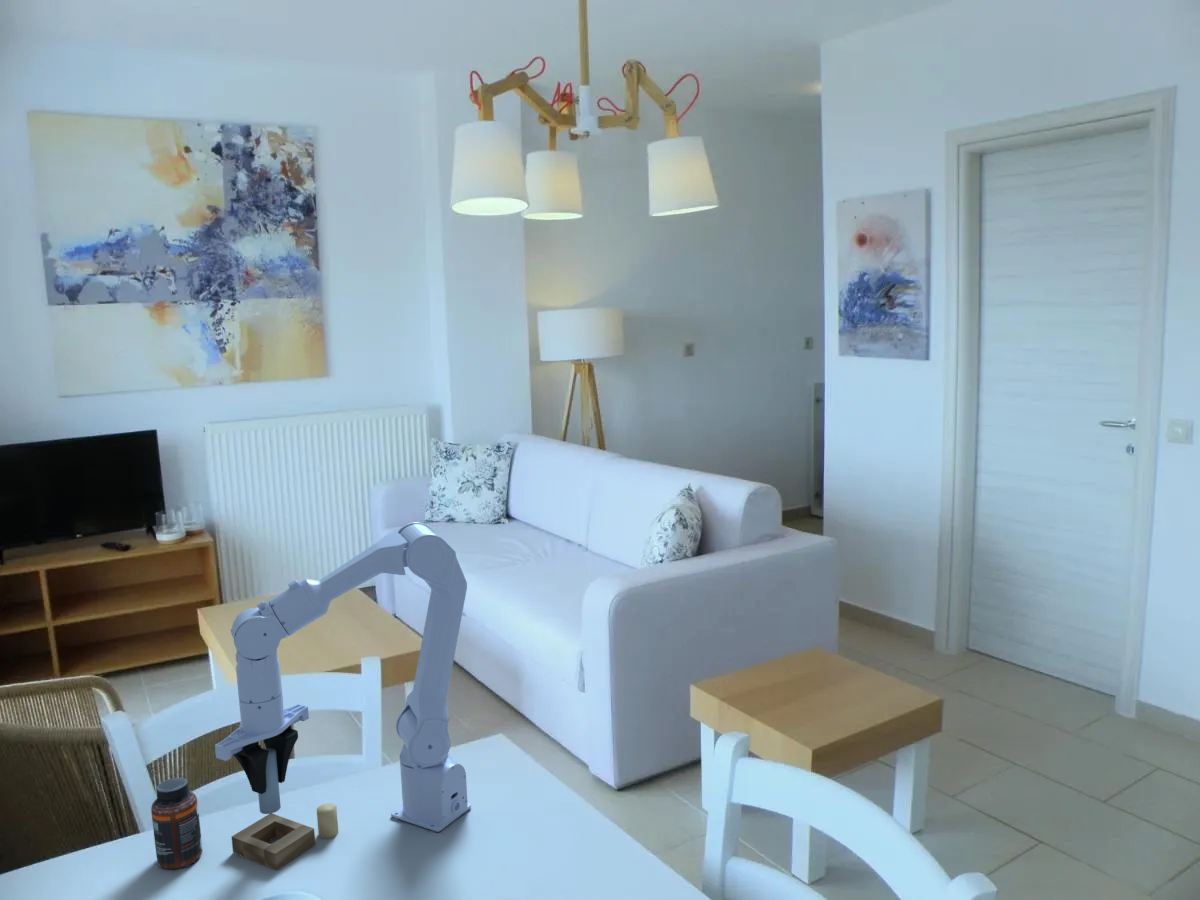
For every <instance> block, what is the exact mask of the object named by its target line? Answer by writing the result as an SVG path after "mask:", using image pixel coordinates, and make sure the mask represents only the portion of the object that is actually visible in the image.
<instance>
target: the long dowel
mask: <svg viewBox="0 0 1200 900" xmlns="http://www.w3.org/2000/svg"><path fill="white" fill-rule="evenodd" d="M264 749H266V750H268V751H269V753H268V757H267V763H266V792H265V793H263V794H259V793H257V794H258V796H257V797H258V804H259V805H258V806H259V807H258V808H259V812H260V814H263V815H268V814H271V813H272V814H274V813H277V812H278V811H279V810H281V795H280V784H279V782H278V770H277V759H276V750H275V749H273V748H266V747H265V748H264Z"/></svg>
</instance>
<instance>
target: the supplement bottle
mask: <svg viewBox="0 0 1200 900" xmlns="http://www.w3.org/2000/svg"><path fill="white" fill-rule="evenodd" d="M189 789H190V788H189V783H188V780H187V779H186V778H184V777H172V778H170V779H166V780H164V781H162V782H160V783H159V784H158V785H157V786H156V797H157V798H156V799H155V800H154V801H153V803H152V804H151V807H150V808H151V812H150V813H151V820H152V830H153V836H154V837H153V838H154V845H155V846H154V847H155V853H156V854H155V855H156V859H157V860H156V861H157V862H156V863H157V864H158V866H159V867H161V868H162V869H165V870H166V869H167V870H169V869H170V870H174V869H180V868H181V869H182V868H184V867H187V866H190V865H191V864H193V863H194V862H196V861H197V860H198V859H199V858H200V857H201V856H202V855H203V840H202V831H201V829H202V828H201V824H200V823H201V822H200V821H201V820H200V813H199V806H198V797H197V795H196V794H195V793H194V792H192V791H191V790H189Z"/></svg>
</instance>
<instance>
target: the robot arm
mask: <svg viewBox="0 0 1200 900" xmlns="http://www.w3.org/2000/svg"><path fill="white" fill-rule="evenodd" d="M405 568H408V569H409V570H410V571H411V573H412V574H414V575H415V576H416V577H418V578H420V579H422V580H424V582H425V584H427V585H428V587H429V588H430V595H429V601H428V606H427V611H426V615H425V616H426V618H425V622H424V628H423V633H422V638H421V639H422V640H421V644H420V648H419V649H420V650H419V655H418V661H417V666H416V671H415V677H414V682H413V687H412V690H411V692H410V693H408V695H407V696H406V700H405V701H406V702H405V705H404V707H403V709H402V710H401V712H400V713H399V715H398V716H397V718H396V721H395V722H396V723H395V730H396V734H397V735H398V737H399V738H400V739H401V741H402V742H403V746H402V749H401V751H400V754H399V769H400V770H399V771H400V784H401V795H402V796H401V798H402V799H401V800H402V805H400V806H399V807H397V808H396V809H394V810H393V811H391V813H390V816H391V818H395V819H397V820H400V821H403V822H407V823H410V824H413V825H415V826H419V827H422V828H425V829H427V830H430V831H434V832H436V833H437V832H441V831H443V830H444V828H446V827H447V826H448V825H450V824H451V823H453V822H454V821H455V820H457V819H458V818H460V816H462V815H463V814H464V813H466V812H467V811H468V810H470V809H471V808H472V804H471V803H470V802H468V791H467V790H468V789H467V787H468V786H467V772H466V770H465V767H464V766H463V765H462V764H461V763H459V762H457V761H455V760H454V759H453V758H452V757H451V756H450V754H449V752H450V750H451V737H450V734H449V728H448V727H449V721H450V718H449V717H450V716H449V709H448V703H447V697H448V691H449V686H450V681H451V677H452V671H453V664H454V660H455V655H456V649H457V643H458V639H459V638H458V637H459V633H460V628H461V622H462V617H463V610H464V605H465V601H466V596H467V595H466V594H467V589H468V582H467V579H466V577H465V574H464V572H463V570H462V568H461V565H460V563H459V561H458V557H457V554H456V551H455V550H454V548H452V546H451V545H450V544H449V543H448V542H447V541H445V540H444V539H443V538H442V537H441V536H439V535H438V534H437V533H435V531H434V530H433V529H432V528H431V527H430V526H429V525H428V524H426V523H423V522H418V521H416V522H415V521H413V522H409V523H407V524H404V525H402V527H400V528H399V529H398V530H393V531H391V532H389V533H386V535H384V536H383V537H382V538H380V539H379V540H378V541H376V542H375V543H373V544H372V545H371V546H369V547H367V548H366V549H365V550H363V551H361V552H360V553H359V554H357V555H355V556H354V557H352V558H350V559H349V560H348V561H346V562H344V563H343V564H342V565H340V566H339V567H337V568H336V569H334V570H332V571H331V572H330V573H328V574H326V575H325V576H324V577H322V578H321V579H318V580H317V579H311V578H304V579H303V580H301V581H299V582H298V579H294V580H292V581H290V582H289V583H288V584H287V585H288V588H287V589H285V590H284V591H282V592H280V593H279V594H277V595H275V596H273V597H272V598H270V599H269V600H267V601H264V600H261V601H260V602H257V604H256V606H257V607H255V608H253V607H250V608H246V609H245V610H243V611H241V612H239V614H237V615H236V617H235V619H234V620H233V623H232V626H231V627H232V628H231V629H230V633H231V636H232V639H233V644H234V646H235V649H236V653H235V661H236V663H237V664H236V667H235V672H236V683H237V693H238V695H237V696H238V701H239V702H238V703H239V704H238V705H239V712H240V713H239V715H240V721H239V727H238V728H237V729H235V730H234V731H233V732H231V733H230V734H229V735H227V737H225V738H224V739H223V740H221V741H219V742H218V743H216V744H214V750H215V758H216V759H218V760H221V761H225V762H227V761H229V760H231V758H232V756H234V758H235V759H236V760H237V762H238V763H239V764H240V766H241V767H242V769H243V771H244V773H245V776H246V777H247V778H246V779H247V780H248V783H249V786H250V788H251V790H252V792H254V793H257V794H258V793H259V794H263V793H265V792H266V763H267V757H268V753H269V751H268V750H266V749H265V748H273V749H275V750H276V759H277V770H278V782H279V783H280V784H282V783H284V782H285V781H286V775H287V771H288V764H289V761H290V757H291V754H292V751H293V749H294V747H295V744H296V743H297V740H298V739H299V732H298V730H297V729H292V726H293V725H294V724H296V723H299V722H300V721H301V722H305V721H307V720H309V718H310V717H309V714H310V713H309V707H308V706H307V705H304V704H300V703H298V704H296V705H293V706H290V707H287V708H285V707H284V706H285V705H284V698H283V697H284V696H283V686H282V676H281V675H282V673H281V662H280V660H279V658H278V651H277V650H278V648H279V646H280V643H281V641H282V640H283V639H287V638H288V637H290V636H291V635H294V634H295V633H296V632H298V631H300V630H301V629H303V628H305V627H306V626H308V625H309V624H311V623H313V622H315V621H316V620H318V619H320V618H321V617H323V616H324V615H327V613H328V610H329V607H330V605H331V602H332V601H334V599H336V598H339V597H340V596H342V595H343V594H346V593H348V592H349V591H351V590H353V589H355V588H356V587H358V586H360V585H362V584H364V583H366V582H368V581H369V580H371V579H373V578H375V577H377V576H378V575H381V574H390V575H398V576H405V575H406V571H405ZM261 741H263V744H264V747H265V748H262V746H261V744H259V742H261Z"/></svg>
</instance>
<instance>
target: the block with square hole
mask: <svg viewBox="0 0 1200 900" xmlns="http://www.w3.org/2000/svg"><path fill="white" fill-rule="evenodd" d="M315 835H316V834H315V828H313V827H311V826H308V825H305V824H302V823H300V822H297V821H294V820H291V819H288V818H286V817H283V816H280V815H278V814H274V813H271V814H266V816H264V817H262V818H260V819H259V820H257V821H255V822H254V823H252V824H250V825H248V826H247V827H245V828H243V829H241V830H240V831H238V832H237V833H235V834H233V835H232V836H231V846H232V853H233V852H234V853H233V854H235V853H236V854H235V855H237V854H238V856H240V855H241V857H242V856H243V858H244V859H245V858H246V859H247V860H250V861H252V862H255V863H257V864H260V865H262V866H264V867H268V868H269V869H272V870H274V869H275V871H278V870H280V869H281V868H283V867H284V866H286V865H287V864H288V863H290V862H292V861H293V860H294V858H295V859H296V858H297V857H299V856H301V855H302V854H304V853H306V852H307V851H308V850H310V849H311V848H313V847H314V846H315V845H316V836H315ZM274 837H275V838H277V837H278V838H277V840H275V842H273V843H269V842H270V841H272V840H273V838H274ZM275 838H274V839H275ZM280 838H281V839H280ZM271 839H272V840H271ZM268 841H269V842H268ZM306 850H307V851H306ZM303 852H304V853H303ZM291 860H292V861H291Z"/></svg>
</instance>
